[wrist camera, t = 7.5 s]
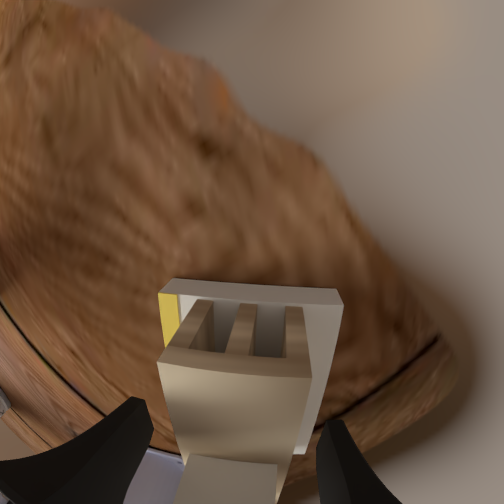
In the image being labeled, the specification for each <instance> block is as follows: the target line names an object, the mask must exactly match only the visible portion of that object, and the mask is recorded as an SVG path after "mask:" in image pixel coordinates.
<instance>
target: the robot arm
mask: <svg viewBox="0 0 504 504" xmlns="http://www.w3.org/2000/svg"><path fill="white" fill-rule="evenodd" d="M153 431H154V427H153V424H152V421H151V418H150V415H149V412H148V409H147V406H146V403H145V400H144V399H140V398H136V397H133V396H132V397H130V398H129V399H128V400H126V401H125V402H124V403H123V404H121V405H120V406H119V407H118V408H116V409H115V410H114V411H113V412H111V413H110V414H109V415H108V416H106V417H105V418H104V419H102V420H101V421H100V422H98V423H97V424H96V425H94V426H93V427H91V428H90V429H88V430H87V431H85V432H84V433H82V434H81V435H79V436H77V437H76V438H74V439H72V440H70V441H68V442H66V443H64V444H62V445H60V446H58V447H56V448H53V449H51V450H48V451H46V452H43V453H40V454H37V455H33V456H29V457H25V458H20V459H14V460H5V461H0V504H173V501H174V498H175V495H176V492H177V489H178V486H179V483H180V480H181V477H182V474H183V471H184V468H185V465H184V462H183V459H182V456H179V455H175V454H171V453H167V452H163V451H159V450H155V449H152V448H148V446H149V443H150V440H151V437H152V434H153ZM316 470H317V478H318V486H319V495H320V503H321V504H402V503H401V502H400V501H399V500H398V499H397V498H396V497H395V496H394V495H393V494H392V493H391V492H390V491H389V490H388V489H387V488H386V487H385V485H384V484H383V483H382V482H381V481H380V479H379V478H378V477H377V476H376V474H375V473H374V471H373V470H372V469H371V467H370V466H369V465H368V463H367V461H366V460H365V459H364V457H363V455H362V454H361V452H360V451H359V449H358V447H357V446H356V444H355V442H354V440H353V439H352V437H351V435H350V433H349V431H348V429H347V427H346V425H345V423H344V421H343V420H326V423H325V426H324V428H323V431H322V434H321V437H320V439H319V442H318V444H317V447H316Z"/></svg>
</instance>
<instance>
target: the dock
mask: <svg viewBox="0 0 504 504" xmlns="http://www.w3.org/2000/svg"><path fill="white" fill-rule="evenodd" d="M158 297H159V306H160V314H161V322H162V329H163V336H164V343H165V348H166V346H167V345H168V343H169V342H170V340H171V339H172V337H173V335H174V334H175V332H176V331H177V329H178V328H179V326H180V325H181V323H182V322H183V320H184V318H185V317H186V315H187V314H188V312H189V311H190V309H191V308H192V306H193V305H194V303H195V302H196V300H197V299H202V300H213V309H214V336H215V352H217V353H225V350H226V347H227V344H228V341H229V338H230V335H231V331H232V328H233V325H234V322H235V319H236V315H237V312H238V309H239V306H240V303H249V304H257V326H256V348H255V356H258V357H273V358H280V355H281V346H282V336H283V327H284V316H285V306H299V307H303V313H304V320H305V327H306V334H307V341H308V348H309V356H310V363H311V371H312V382H311V386H310V391H309V395H308V399H307V403H306V408H305V412H304V416H303V419H302V423H301V427H300V431H299V435H298V438H297V442H296V445H295V449H294V452H293V454H305V452H306V449H307V446H308V443H309V440H310V437H311V434H312V431H313V428H314V425H315V422H316V419H317V415H318V412H319V409H320V405H321V402H322V398H323V395H324V391H325V387H326V384H327V380H328V376H329V372H330V368H331V364H332V360H333V356H334V351H335V347H336V342H337V338H338V333H339V328H340V323H341V318H342V313H343V308H344V304H343V302H342V300H341V298H340V296H339V293H338V291H337V289H330V288H308V287H289V286H271V285H256V284H241V283H227V282H214V281H202V280H190V279H179V278H172V279H171V280H170V281H169V282H168V283H167V284H166V285H165V286H164V287H163V288H162V289H161V290H160V291H159V292H158Z"/></svg>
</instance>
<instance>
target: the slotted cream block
mask: <svg viewBox="0 0 504 504" xmlns="http://www.w3.org/2000/svg"><path fill="white" fill-rule="evenodd" d="M256 326H257V304H249V303H240V306H239V309H238V312H237V315H236V319H235V322H234V325H233V328H232V331H231V335H230V338H229V341H228V344H227V347H226V350H225V353H217V352H215V336H214V309H213V300H202V299H197V300H196V302H195V303H194V305H193V306H192V308H191V309H190V311H189V312H188V314H187V315H186V317H185V318H184V320H183V322H182V323H181V325H180V326H179V328H178V329H177V331H176V332H175V334H174V335H173V337H172V339H171V340H170V342H169V343H168V345H167V346H166V348H165V350H164V351H163V353H162V354H161V356H160V357H159V359H158V361H157V365H158V370H159V374H160V379H161V383H162V388H163V392H164V396H165V400H166V404H167V408H168V412H169V416H170V419H171V423H172V426H173V430H174V433H175V437H176V440H177V443H178V446H179V450H180V453H181V456H182V459H183V462H184V465H186V462H187V459H188V456H189V453H190V454H195V455H200V456H205V457H211V458H218V459H224V460H232V461H241V462H251V463H264V464H277V481H276V496H275V504H277V501H278V498H279V496H280V493H281V490H282V487H283V484H284V481H285V478H286V475H287V472H288V469H289V465H290V462H291V459H292V455H293V452H294V449H295V445H296V442H297V438H298V435H299V431H300V427H301V423H302V419H303V416H304V412H305V408H306V403H307V399H308V395H309V391H310V386H311V382H312V371H311V363H310V356H309V348H308V341H307V334H306V327H305V320H304V313H303V307H299V306H285V316H284V327H283V336H282V346H281V355H280V358H273V357H258V356H255V348H256Z"/></svg>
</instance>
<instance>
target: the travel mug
mask: <svg viewBox="0 0 504 504" xmlns="http://www.w3.org/2000/svg"><path fill="white" fill-rule="evenodd" d="M10 407H11V404H10V401H9V400H8V398H7V396H6V395H5V393H4V392H3V391H2V389H1V388H0V418H1V417H2V415H3V414H4V413H5V412H6V411H7V410H8V409H9V408H10Z"/></svg>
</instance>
